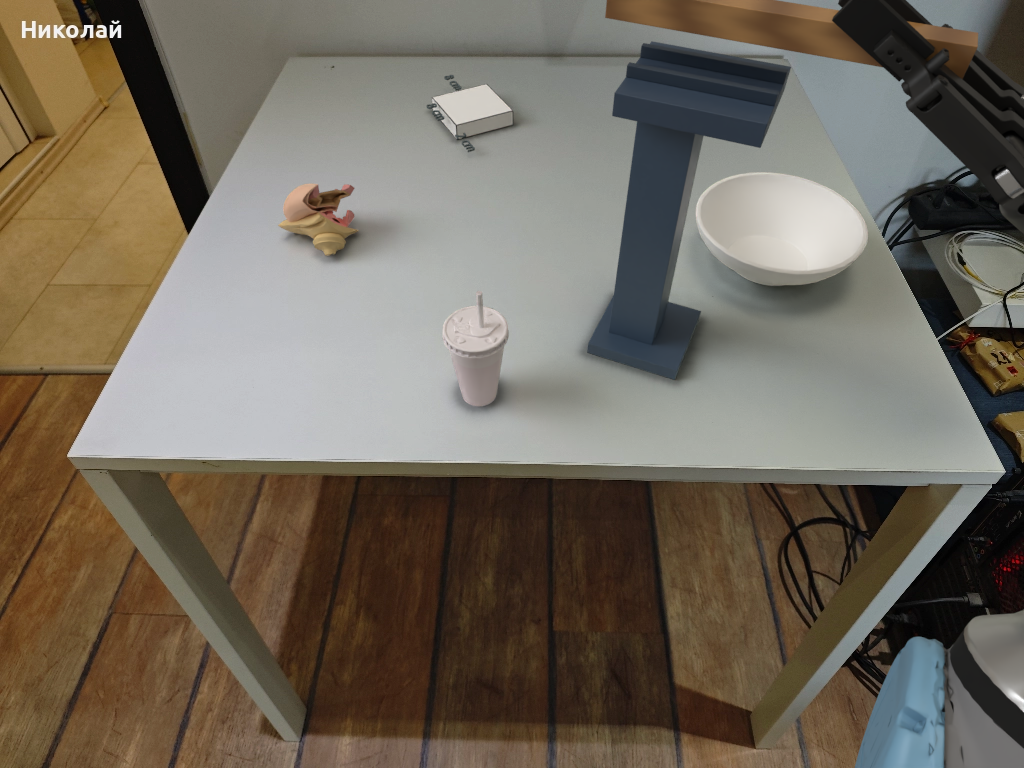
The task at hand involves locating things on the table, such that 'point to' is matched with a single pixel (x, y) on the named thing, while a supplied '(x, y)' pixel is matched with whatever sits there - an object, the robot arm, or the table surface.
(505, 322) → the smoothie
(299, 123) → the table surface
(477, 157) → the table surface
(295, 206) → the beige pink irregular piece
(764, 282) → the bowl
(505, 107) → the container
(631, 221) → the lectern stand
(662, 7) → the stirring stick
